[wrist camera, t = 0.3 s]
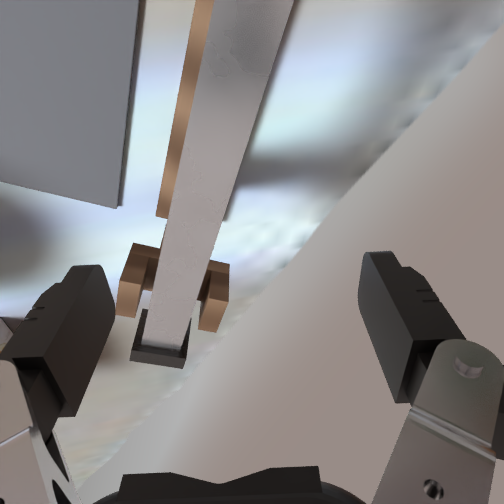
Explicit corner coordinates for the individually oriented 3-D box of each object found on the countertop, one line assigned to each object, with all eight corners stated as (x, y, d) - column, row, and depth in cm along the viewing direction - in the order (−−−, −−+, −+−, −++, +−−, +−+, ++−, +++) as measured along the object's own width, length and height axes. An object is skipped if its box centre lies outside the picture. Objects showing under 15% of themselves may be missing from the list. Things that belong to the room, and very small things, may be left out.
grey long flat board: (-96, -446, 16) (-105, -455, 16) (172, -300, 19) (170, -305, 19) (-11, 175, 35) (-14, 178, 35) (117, 206, 38) (116, 209, 38)
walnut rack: (237, -233, 20) (234, -599, 7) (341, -179, 22) (510, -394, 8) (156, 207, 38) (110, 348, 25) (215, 222, 40) (203, 362, 26)
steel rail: (290, -440, 9) (313, -605, 7) (412, -358, 10) (478, -474, 7) (140, 319, 27) (129, 360, 25) (188, 327, 28) (182, 368, 25)
